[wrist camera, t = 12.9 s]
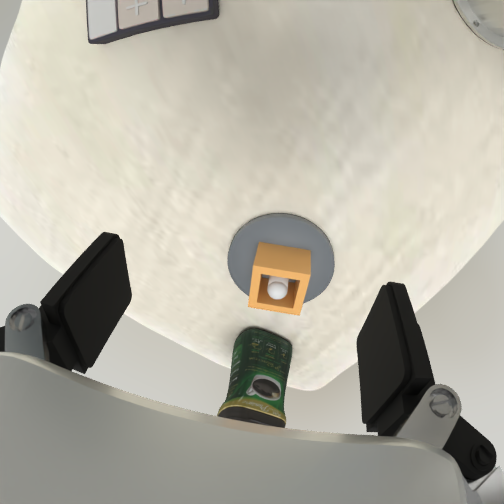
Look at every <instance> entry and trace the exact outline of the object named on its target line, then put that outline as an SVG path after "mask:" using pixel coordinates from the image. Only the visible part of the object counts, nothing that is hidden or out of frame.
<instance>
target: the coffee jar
mask: <svg viewBox="0 0 504 504" xmlns="http://www.w3.org/2000/svg"><path fill="white" fill-rule="evenodd" d="M291 358H292V346H291V344H290V343H289V342H288V341H286V340H284V339H282V338H281V337H279V336H276V335H274V334H271V333H269V332H266V331H263V330H260V329H249V330H246V331H244V332H243V333H241V334H240V336H239V337H238V338H237V339H236V341H235V344H234V349H233V355H232V365H231V374H230V382H229V389H228V393H227V397H226V400H225V402H224V403H223V404H222V406H221V407H220V409H219V412H218V414H217V417H222V418H227V419H232V420H237V421H243V422H248V423H254V424H260V425H267V426H273V427H280V428H285V425H286V417H285V413H284V396H285V389H286V384H287V378H288V373H289V368H290V363H291Z"/></svg>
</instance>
